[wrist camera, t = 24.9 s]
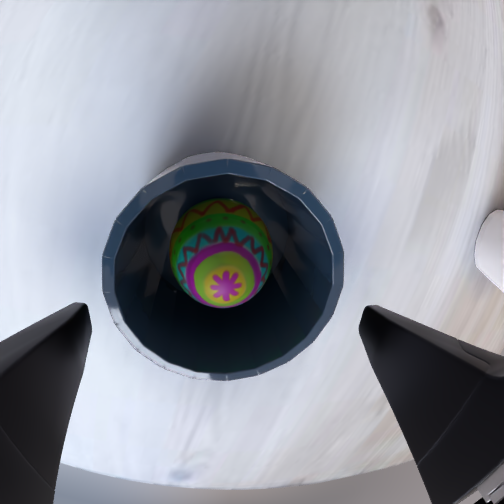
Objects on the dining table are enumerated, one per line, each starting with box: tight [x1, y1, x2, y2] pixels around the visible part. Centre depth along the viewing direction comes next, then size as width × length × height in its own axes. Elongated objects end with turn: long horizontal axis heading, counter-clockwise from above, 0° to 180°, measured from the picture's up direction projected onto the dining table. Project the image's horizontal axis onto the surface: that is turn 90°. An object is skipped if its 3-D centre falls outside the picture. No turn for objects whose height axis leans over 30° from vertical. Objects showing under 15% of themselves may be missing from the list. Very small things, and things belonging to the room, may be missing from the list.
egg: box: [169, 198, 273, 308], centre depth 14 cm, size 5×5×6 cm
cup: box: [102, 152, 344, 381], centre depth 14 cm, size 9×9×7 cm
